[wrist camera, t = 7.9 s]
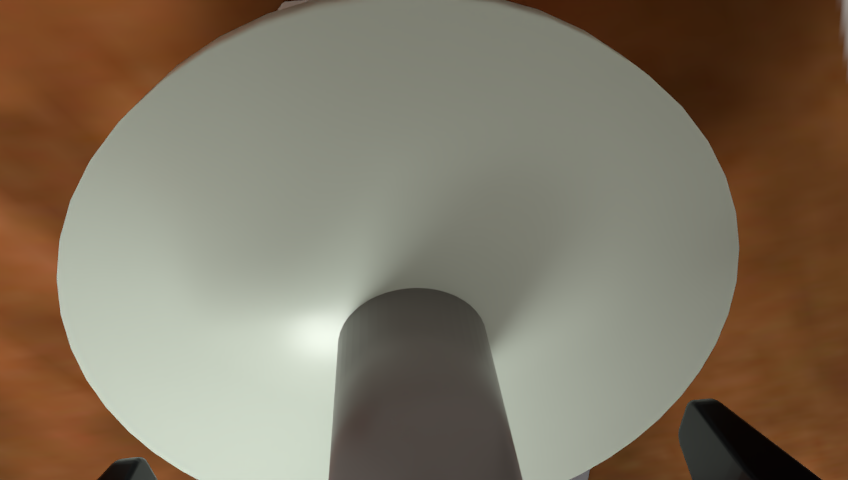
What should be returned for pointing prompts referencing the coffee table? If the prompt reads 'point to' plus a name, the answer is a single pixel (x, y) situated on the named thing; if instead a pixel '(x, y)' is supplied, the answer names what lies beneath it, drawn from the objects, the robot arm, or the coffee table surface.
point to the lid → (398, 249)
